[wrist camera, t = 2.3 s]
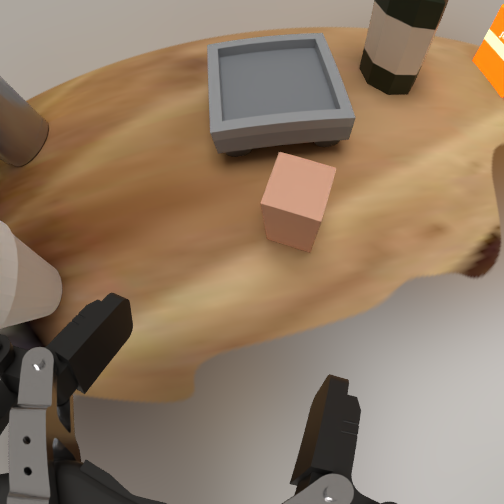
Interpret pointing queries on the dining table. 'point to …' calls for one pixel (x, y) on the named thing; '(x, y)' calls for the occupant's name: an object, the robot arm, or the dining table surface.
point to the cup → (25, 282)
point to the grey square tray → (276, 93)
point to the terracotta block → (296, 200)
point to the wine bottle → (399, 42)
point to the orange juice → (493, 54)
